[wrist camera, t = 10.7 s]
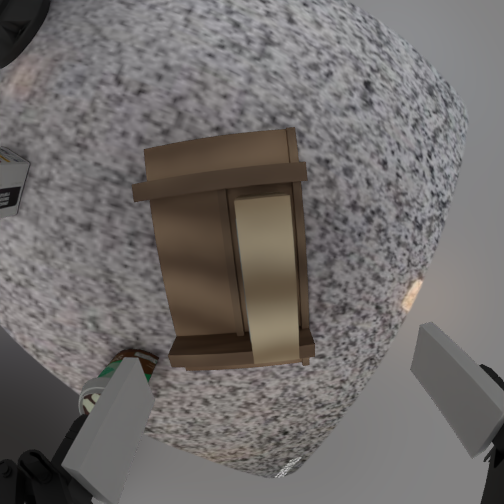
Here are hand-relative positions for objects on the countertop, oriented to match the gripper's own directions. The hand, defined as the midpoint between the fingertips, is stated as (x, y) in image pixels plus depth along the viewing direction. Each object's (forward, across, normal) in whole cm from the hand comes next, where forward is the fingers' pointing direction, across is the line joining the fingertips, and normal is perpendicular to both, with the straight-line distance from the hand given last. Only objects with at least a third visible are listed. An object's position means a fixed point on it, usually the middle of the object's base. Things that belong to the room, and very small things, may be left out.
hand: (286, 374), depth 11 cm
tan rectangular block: (+17, 0, 0) cm, 17 cm away
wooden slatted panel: (+18, -3, 0) cm, 19 cm away
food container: (+19, -20, -13) cm, 30 cm away
